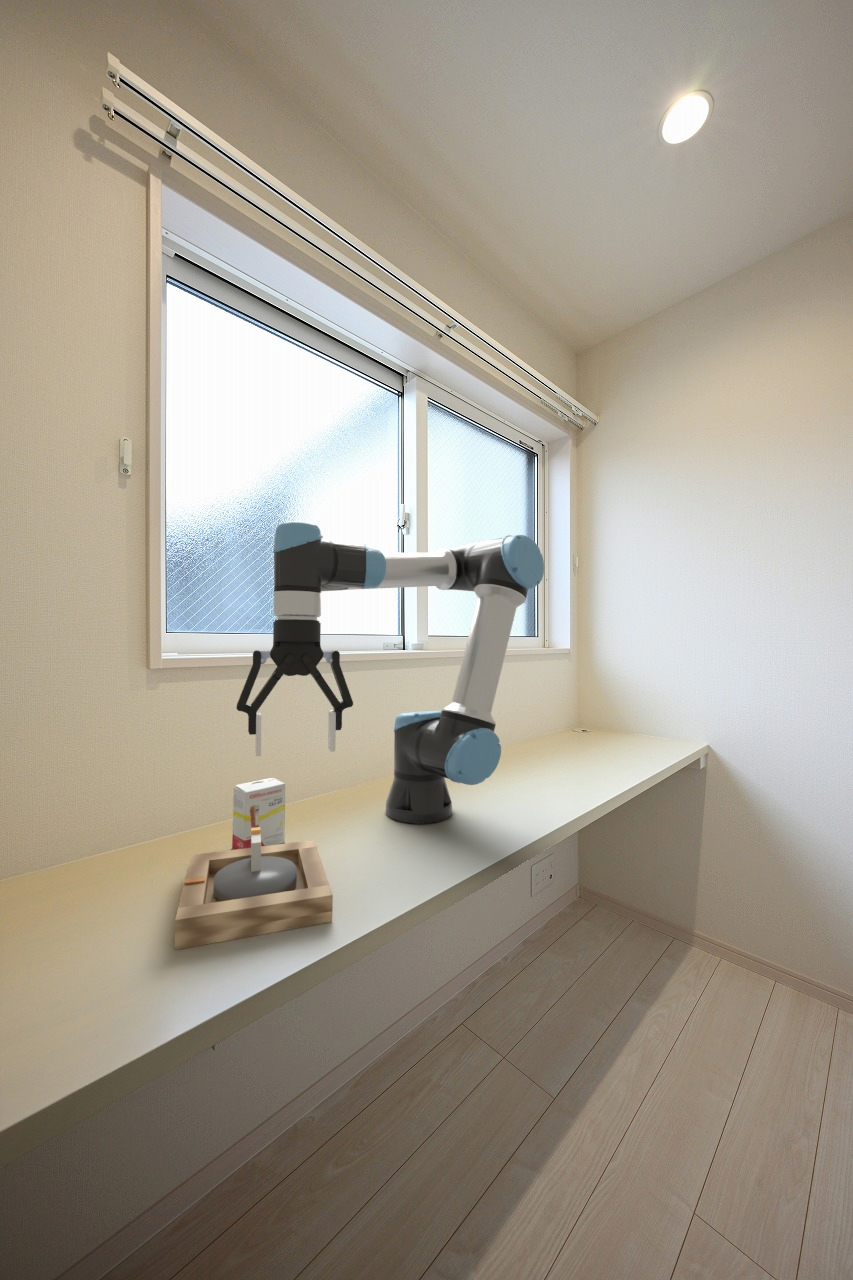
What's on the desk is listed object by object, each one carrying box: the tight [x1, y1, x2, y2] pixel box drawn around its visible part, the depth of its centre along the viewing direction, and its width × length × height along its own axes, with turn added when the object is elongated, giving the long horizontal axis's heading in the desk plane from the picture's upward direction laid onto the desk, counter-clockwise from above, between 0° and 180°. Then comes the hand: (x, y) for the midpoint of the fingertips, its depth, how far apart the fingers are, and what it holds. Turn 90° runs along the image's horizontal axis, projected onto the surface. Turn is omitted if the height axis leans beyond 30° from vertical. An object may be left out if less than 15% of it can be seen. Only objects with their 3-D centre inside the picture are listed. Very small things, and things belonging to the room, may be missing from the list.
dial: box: [213, 827, 297, 902], centre depth 77 cm, size 12×12×7 cm
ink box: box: [231, 777, 286, 850], centre depth 96 cm, size 9×5×12 cm, turn 137°
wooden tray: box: [174, 839, 334, 951], centre depth 77 cm, size 20×20×4 cm
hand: (295, 752), depth 83 cm, fingers open, 11 cm apart
